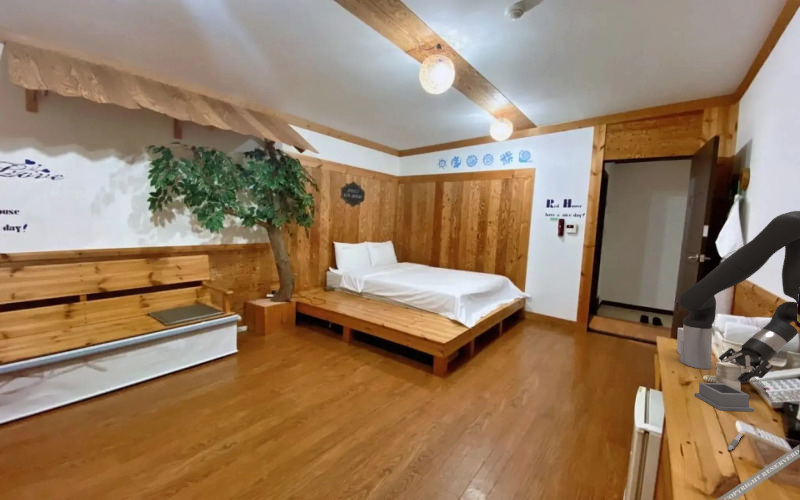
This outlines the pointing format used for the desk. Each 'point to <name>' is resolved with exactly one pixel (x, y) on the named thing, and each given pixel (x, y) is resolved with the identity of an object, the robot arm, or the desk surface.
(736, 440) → the pen
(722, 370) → the cream block
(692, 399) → the desk surface
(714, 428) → the desk surface
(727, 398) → the pocket stand
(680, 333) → the skincare box
